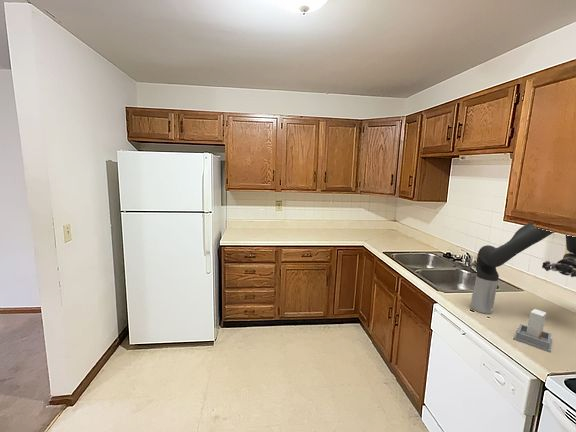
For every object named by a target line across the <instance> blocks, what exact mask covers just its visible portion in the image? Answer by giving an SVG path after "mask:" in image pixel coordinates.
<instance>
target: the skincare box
mask: <svg viewBox="0 0 576 432" xmlns="http://www.w3.org/2000/svg"><path fill="white" fill-rule="evenodd" d="M546 317H547V312H545V311H543V310H540V309H536V308H534V309H532V310H531V312H530V314H529V318H528V323H527V326H528V327H527V331H526V335H529V336H532V337H534V338H537V339H541V335H542V331H544V326H545V323H546V322H545V321H546Z"/></svg>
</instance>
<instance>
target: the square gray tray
mask: <svg viewBox="0 0 576 432" xmlns="http://www.w3.org/2000/svg"><path fill="white" fill-rule="evenodd" d="M527 327H528V325H525V324H523V323H519V326H518V327H517V328H516V330H515V334H514V336H513V340H514V341H517V342H519V343H522V344H525V345H528V346H530V347H534V348H537V349H539V350H543V351H545V352H546V353H547V352H548V353H551V351H552V345H553V338H552V333H550V332H548V331H547V332H546V331H544V330H543V331H542V335H541V339H537V338H534V337H532V336H529V335H526V331H527Z"/></svg>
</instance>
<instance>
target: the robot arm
mask: <svg viewBox="0 0 576 432" xmlns="http://www.w3.org/2000/svg"><path fill="white" fill-rule="evenodd" d="M554 233H555V232H550V231H546V230H542V229H538V228H535V226H534V225H533V223H530V222H528V223H526V224H524V225H523V226H521V227H520V228H519V229H518V230H517V231H515V232H514V235H513V236H512V237H511V239H510V240H509V241H507V242H505V243H504V244H501V245H500V246H498V247H495V246H492V245H484V246H481V247H480V248H479V249H478V252H477V256H476V264H475V265H476V266H475V271H476V275H475V283H474V288H473V290H472V292H471V293H472V294H471V300H470V306H469V308H470V309H472V310H474V311H476V312H478V313H480V314H489V315H490V314H492V313H493V310H494V305H495V299H496V294H497V288H498V283H499V277H500V275H499V272H498V271H497V268H498V267H501V266H503V265H504V264H506V263H507V262H509V261H510V260H511V259H513V258H514V257H515V256H517V255H519V253H521V252H523V251H525V250H527V249H529V248H530V247H531V246H533V245H536V244H537V243H538V242H541V241H542V240H544V239H545V238H547V237H548V236H550V235H552V234H554ZM565 245H566V250H567V251H568V252H567V253H565V254H564V255H563V256H562V259H559V261H557V262H555V263H554V262H553V263H551V261H549V260H548V261H544V262H542V266H541V268H542V269H544V270H545V271H546V272H549V271H552V272H558V273H559V274H561V275H563V276H570V277H571V278H574V277H575V278H576V237H572V236H567V235H565Z"/></svg>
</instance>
